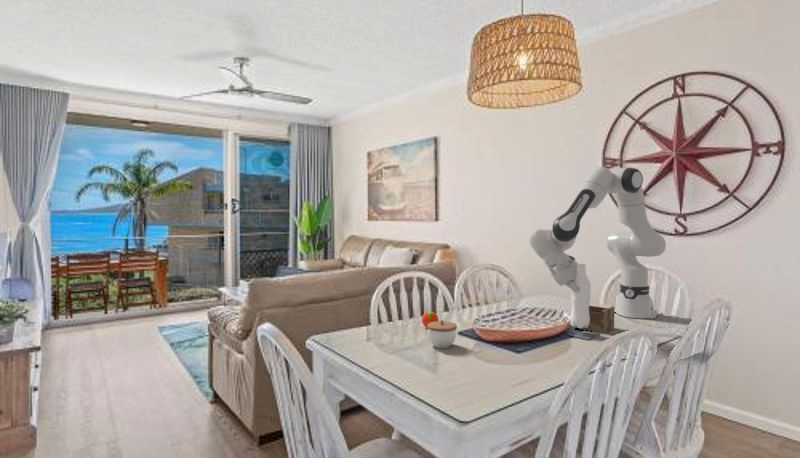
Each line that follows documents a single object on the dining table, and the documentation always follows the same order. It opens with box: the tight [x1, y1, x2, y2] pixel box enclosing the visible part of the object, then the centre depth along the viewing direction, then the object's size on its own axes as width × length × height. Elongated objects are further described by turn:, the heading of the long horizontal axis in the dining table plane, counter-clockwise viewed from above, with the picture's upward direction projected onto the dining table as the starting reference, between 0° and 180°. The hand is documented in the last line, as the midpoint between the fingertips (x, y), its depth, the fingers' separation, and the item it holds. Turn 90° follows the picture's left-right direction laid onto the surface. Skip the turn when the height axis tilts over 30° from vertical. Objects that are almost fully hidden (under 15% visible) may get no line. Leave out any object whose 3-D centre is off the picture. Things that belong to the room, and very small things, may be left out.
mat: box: [573, 330, 601, 341], centre depth 179 cm, size 11×11×1 cm
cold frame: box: [576, 305, 616, 335], centre depth 189 cm, size 12×12×9 cm
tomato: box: [421, 311, 439, 329], centre depth 189 cm, size 8×7×7 cm
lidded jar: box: [426, 319, 457, 349], centre depth 165 cm, size 11×11×9 cm
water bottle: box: [569, 263, 592, 328], centre depth 179 cm, size 7×7×25 cm
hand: (582, 290), depth 178 cm, fingers closed on water bottle, 7 cm apart
